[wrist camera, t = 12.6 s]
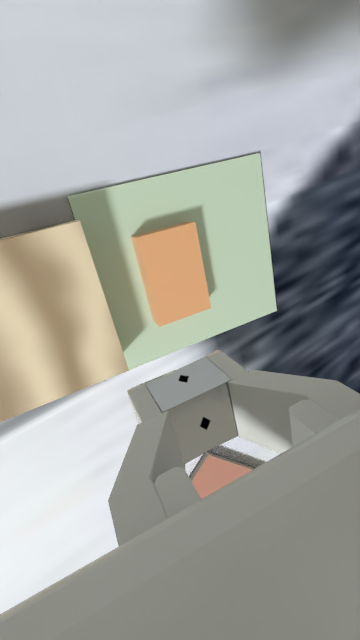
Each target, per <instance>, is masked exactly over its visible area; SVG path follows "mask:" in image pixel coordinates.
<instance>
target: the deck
mask: <svg viewBox="0 0 360 640" xmlns="http://www.w3.org/2000/svg"><path fill="white" fill-rule="evenodd" d="M128 370H129V369H128V366H127V363H126V360H125V357H124V354H123V351H122V348H121V345H120V341H119V338H118V335H117V332H116V329H115V326H114V323H113V320H112V317H111V314H110V311H109V308H108V305H107V302H106V299H105V296H104V293H103V290H102V286H101V283H100V280H99V277H98V274H97V271H96V268H95V265H94V262H93V259H92V256H91V253H90V250H89V247H88V244H87V241H86V238H85V234H84V231H83V228H82V225H81V222H80V221H78V220H73V221H69V222H65V223H61V224H57V225H53V226H49V227H45V228H41V229H37V230H33V231H29V232H25V233H21V234H17V235H13V236H9V237H5V238H1V239H0V422H1V421H4V420H6V419H9V418H11V417H14V416H16V415H19V414H21V413H24V412H26V411H29V410H31V409H34V408H36V407H39V406H41V405H44V404H46V403H49V402H51V401H54V400H56V399H59V398H61V397H64V396H66V395H69V394H71V393H74V392H76V391H79V390H81V389H84V388H86V387H89V386H91V385H94V384H96V383H99V382H101V381H104V380H106V379H108V378H111V377H113V376H116V375H118V374H121V373H123V372H126V371H128Z"/></svg>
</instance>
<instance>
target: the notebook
mask: <svg viewBox="0 0 360 640" xmlns="http://www.w3.org/2000/svg"><path fill="white" fill-rule="evenodd" d="M253 469H255V468H254V467H251V466H248V465H246V464H243V463H240V462H237V461H234V460H231V459H228V458H225V457H222V456H219V455H216V454H213V453H210V452H205V453H204V455H203V456H202V458H201V460H200V461H199V463H198V464H197V466H196V468H195V469H194V471H193V472H192V474H191V475H190V477H189V478H190V480H191V482H192V484H193V485H194V487H195V489H196V491H197V492H198V494H199V496H200V498H201V499H203V498H205V497H206V496H208V495H210V494H212V493H213V492H215V491H217V490H219V489H220V488H222V487H224V486H226V485H227V484H229V483H231V482H233V481H234V480H236V479H238V478H239V477H241V476H243V475H245V474H246V473H248V472H250V471H252V470H253Z"/></svg>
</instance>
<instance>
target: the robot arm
mask: <svg viewBox="0 0 360 640" xmlns="http://www.w3.org/2000/svg"><path fill="white" fill-rule="evenodd" d="M127 392H128V396H129V398H130V401H131V404H132V407H133V410H134V412H135V415H136V418H137V421H138V423H139V424H138V425H137V427H136V429H135V432H134V435H133V437H132V440H131V442H130V445H129V448H128V450H127V453H126V455H125V458H124V461H123V463H122V466H121V468H120V471H119V474H118V476H117V479H116V481H115V484H114V487H113V489H112V492H111V494H110V497H109V500H108V502H109V506H110V511H111V515H112V519H113V524H114V528H115V533H116V537H117V541H118V546H119V547H117V548H115V549H114V550H112V551H110V552H108V553H107V554H105V555H103V556H101V557H100V558H98V559H96V560H95V561H93V562H91V563H89V564H88V565H86V566H84V567H82V568H81V569H79V570H77V571H75V572H74V573H72V574H70V575H68V576H67V577H65V578H63V579H61V580H60V581H58V582H56V583H54V584H53V585H51V586H49V587H47V588H46V589H44V590H42V591H40V592H39V593H37V594H35V595H33V596H32V597H30V598H28V599H26V600H25V601H23V602H21V603H19V604H18V605H16V606H14V607H12V608H11V609H9V610H7V611H5V612H4V613H2V614H0V640H360V394H359V393H357V392H355V391H354V390H352V389H350V388H348V387H347V386H345V385H343V384H341V383H340V382H338V381H334V380H327V379H319V378H311V377H303V376H296V375H288V374H280V373H272V372H265V371H257V370H252V371H250V372H248V371H247V370H246V369H244V368H243V367H242V366H240V365H239V364H238V363H236V362H235V361H234V360H232V359H231V358H230V357H228V356H227V355H226V354H224V353H223V352H222V351H219V350H218V351H216V352H213V353H211V354H209V355H207V356H205V357H203V358H201V359H199V360H197V361H195V362H193V363H191V364H188V365H186V366H184V367H182V368H180V369H178V370H174V371H172V372H169V373H167V374H165V375H162V376H160V377H157V378H155V379H152V380H150V381H148V382H145V383H144V384H143V383H142V384H140V385H138V386H136V387H133V388H131V389H129V390H127ZM237 436H239V437H241V438H243V439H246V440H248V441H251V442H253V443H256V444H258V445H261V446H263V447H266V448H268V449H270V450H273V451H275V452H278V453H280V455H278V456H276V457H274V458H273V459H271V460H269V461H267V462H266V463H264V464H262V465H260V466H259V467H257V468H255V469H253V470H252V471H250V472H248V473H246V474H245V475H243V476H241V477H239V478H238V479H236V480H234V481H233V482H231V483H229V484H227V485H226V486H224V487H222V488H220V489H219V490H217V491H215V492H213V493H212V494H210V495H208V496H206V497H205V498H203V499H201V498H200V496H199V494H198V492H197V491H196V489H195V487H194V485H193V484H192V482H191V480H190V478H189V477H188V475H187V473H186V471H185V464H186V463H187V462H189V461H191V460H193V459H194V458H196V457H198V456H200V455H202V454H203V453H205V452H207V451H209V450H210V449H212V448H214V447H216V446H218V445H220V444H222V443H224V442H226V441H229V440H231V439H233V438H235V437H237Z"/></svg>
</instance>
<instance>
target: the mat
mask: <svg viewBox="0 0 360 640" xmlns="http://www.w3.org/2000/svg"><path fill="white" fill-rule="evenodd" d="M67 197H68V200H69V203H70V206H71V209H72V212H73V215H74V218H75V220H78V221H80V222H81V225H82V228H83V231H84V234H85V238H86V241H87V244H88V247H89V250H90V253H91V256H92V259H93V262H94V265H95V268H96V271H97V274H98V277H99V280H100V283H101V286H102V290H103V293H104V296H105V299H106V302H107V305H108V308H109V311H110V314H111V317H112V320H113V323H114V326H115V329H116V332H117V335H118V338H119V341H120V345H121V348H122V351H123V354H124V357H125V360H126V363H127V366H128V369H129V370H130V369H133V368H135V367H138V366H140V365H143V364H145V363H148V362H150V361H152V360H155V359H157V358H160V357H162V356H165V355H167V354H170V353H172V352H175V351H177V350H180V349H182V348H185V347H187V346H190V345H192V344H195V343H197V342H200V341H202V340H205V339H207V338H210V337H212V336H215V335H217V334H220V333H222V332H225V331H227V330H230V329H232V328H235V327H237V326H240V325H242V324H245V323H247V322H250V321H252V320H255V319H257V318H260V317H262V316H265V315H267V314H270V313H272V312H275V311H277V308H276V298H275V289H274V280H273V270H272V261H271V251H270V242H269V233H268V223H267V214H266V204H265V195H264V185H263V176H262V167H261V157H260V153H257V154H253V155H248V156H244V157H239V158H235V159H231V160H226V161H222V162H217V163H213V164H208V165H204V166H200V167H195V168H191V169H186V170H182V171H178V172H173V173H169V174H164V175H160V176H156V177H151V178H147V179H142V180H138V181H133V182H129V183H125V184H120V185H116V186H111V187H107V188H103V189H98V190H94V191H89V192H85V193H80V194H76V195H72V196H67ZM187 221H188V222H196V228H197V233H198V239H199V244H200V250H201V255H202V261H203V266H204V271H205V277H206V282H207V288H208V293H209V299H210V304H211V308H210V309H207V310H205V311H202V312H199V313H196V314H194V315H191V316H188V317H185V318H183V319H180V320H177V321H174V322H172V323H169V324H166V325H163V326H161V327H159V326H158V325H157V324H156V323H155V322H153V319H152V315H151V311H150V307H149V304H148V300H147V296H146V292H145V288H144V285H143V281H142V277H141V273H140V269H139V266H138V262H137V258H136V254H135V251H134V247H133V243H132V239H131V236H135V235H138V234H142V233H146V232H150V231H153V230H157V229H161V228H164V227H168V226H172V225H176V224H179V223H183V222H187Z"/></svg>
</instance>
